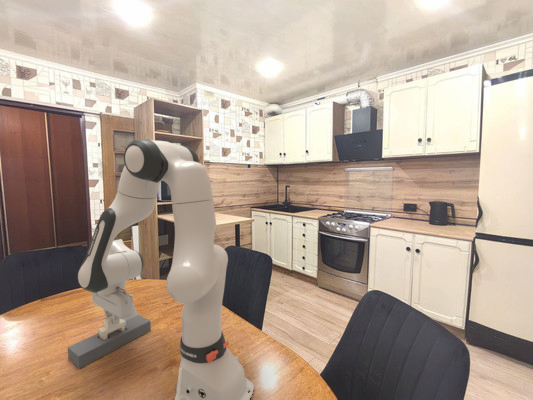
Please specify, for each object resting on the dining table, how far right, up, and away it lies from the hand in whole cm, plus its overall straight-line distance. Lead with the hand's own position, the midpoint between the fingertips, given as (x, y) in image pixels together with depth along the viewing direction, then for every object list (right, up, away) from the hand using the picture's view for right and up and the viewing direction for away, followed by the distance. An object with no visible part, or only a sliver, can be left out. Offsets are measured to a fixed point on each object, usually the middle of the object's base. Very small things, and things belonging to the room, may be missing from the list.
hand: (112, 321), depth 90 cm
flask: (-3, -7, +17) cm, 18 cm away
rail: (0, -8, +1) cm, 8 cm away
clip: (0, -8, 0) cm, 8 cm away
